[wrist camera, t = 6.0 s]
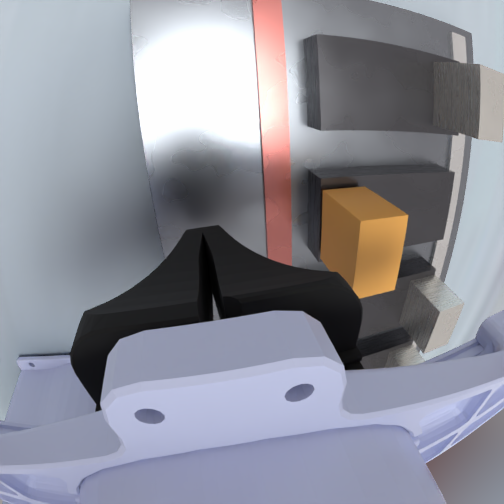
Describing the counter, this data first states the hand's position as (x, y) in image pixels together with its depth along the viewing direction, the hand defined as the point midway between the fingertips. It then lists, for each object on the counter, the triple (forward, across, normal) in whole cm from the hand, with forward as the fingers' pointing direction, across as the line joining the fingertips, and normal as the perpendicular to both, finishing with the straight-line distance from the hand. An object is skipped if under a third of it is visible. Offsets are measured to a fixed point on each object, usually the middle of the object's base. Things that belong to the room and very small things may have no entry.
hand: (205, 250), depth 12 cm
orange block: (+1, -6, 0) cm, 6 cm away
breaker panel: (+4, -7, +2) cm, 8 cm away
